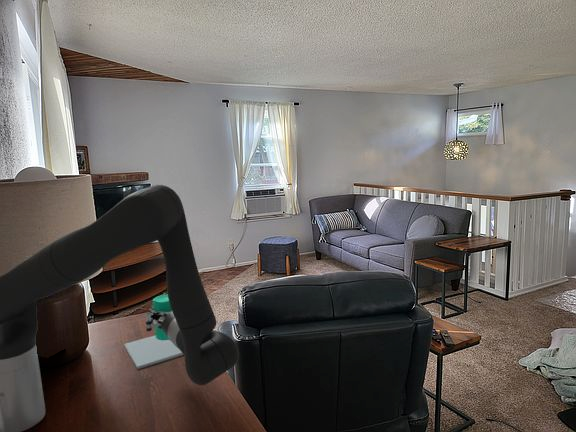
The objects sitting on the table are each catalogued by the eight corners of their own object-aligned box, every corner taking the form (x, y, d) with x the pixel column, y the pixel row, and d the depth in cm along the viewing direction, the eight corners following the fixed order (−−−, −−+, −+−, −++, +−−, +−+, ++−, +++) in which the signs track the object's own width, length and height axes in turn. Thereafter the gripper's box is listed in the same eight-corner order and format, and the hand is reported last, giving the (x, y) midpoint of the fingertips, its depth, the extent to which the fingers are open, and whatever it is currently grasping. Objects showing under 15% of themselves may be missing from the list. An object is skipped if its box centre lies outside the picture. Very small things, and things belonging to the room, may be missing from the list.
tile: (186, 353, 114) (186, 351, 114) (137, 369, 106) (137, 366, 106) (169, 333, 127) (169, 331, 127) (124, 346, 119) (124, 343, 119)
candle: (164, 342, 99) (161, 298, 97) (151, 336, 102) (147, 293, 100) (183, 333, 103) (180, 291, 102) (170, 328, 107) (166, 287, 105)
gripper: (211, 307, 93) (187, 288, 107) (151, 322, 85) (133, 300, 99) (213, 336, 95) (188, 313, 109) (154, 353, 87) (135, 327, 101)
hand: (162, 307), depth 104 cm, fingers closed on candle, 4 cm apart
